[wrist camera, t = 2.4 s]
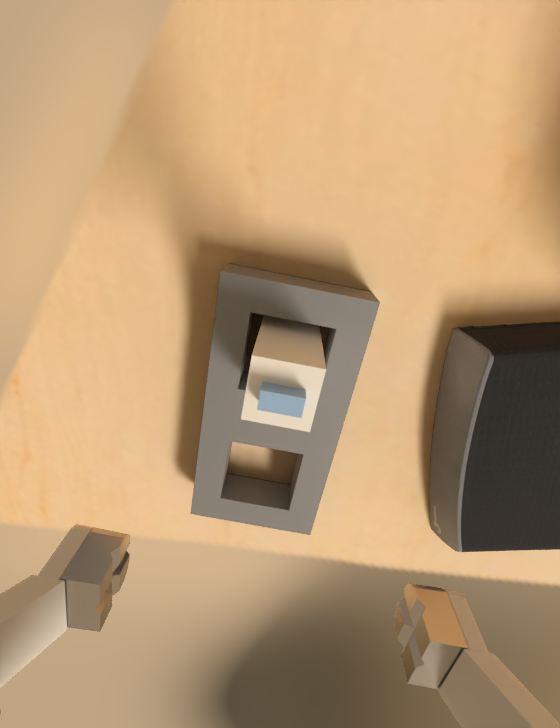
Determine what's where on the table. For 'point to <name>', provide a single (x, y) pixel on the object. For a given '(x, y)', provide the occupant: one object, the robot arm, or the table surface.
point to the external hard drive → (498, 440)
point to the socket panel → (224, 424)
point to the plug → (285, 374)
